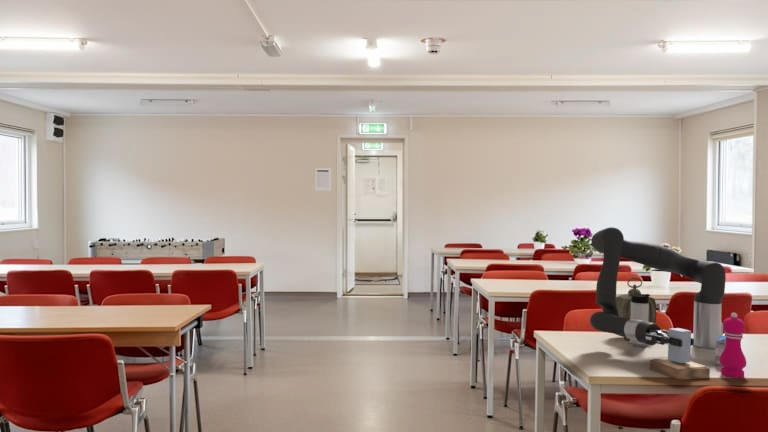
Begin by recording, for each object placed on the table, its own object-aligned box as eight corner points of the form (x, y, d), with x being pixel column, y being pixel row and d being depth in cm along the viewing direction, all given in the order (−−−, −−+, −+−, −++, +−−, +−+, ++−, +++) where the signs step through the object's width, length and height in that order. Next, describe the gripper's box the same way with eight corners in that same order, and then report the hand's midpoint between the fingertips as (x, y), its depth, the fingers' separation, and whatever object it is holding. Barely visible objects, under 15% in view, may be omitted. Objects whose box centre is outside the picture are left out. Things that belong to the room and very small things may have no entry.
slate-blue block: (677, 358, 178) (678, 327, 178) (690, 362, 174) (691, 330, 174) (667, 359, 177) (668, 328, 177) (680, 363, 173) (681, 331, 172)
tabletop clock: (624, 341, 219) (626, 279, 219) (610, 336, 228) (611, 276, 228) (655, 340, 222) (657, 278, 222) (640, 335, 231) (641, 276, 231)
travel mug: (650, 347, 209) (651, 295, 209) (632, 346, 211) (633, 294, 210) (646, 343, 215) (647, 293, 215) (628, 342, 217) (629, 292, 216)
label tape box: (718, 360, 193) (719, 325, 193) (732, 362, 191) (733, 327, 191) (714, 365, 186) (715, 329, 186) (728, 367, 184) (729, 331, 184)
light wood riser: (679, 367, 183) (680, 356, 183) (709, 377, 171) (709, 366, 171) (649, 368, 180) (649, 358, 180) (677, 379, 168) (677, 368, 168)
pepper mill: (746, 380, 170) (748, 315, 170) (719, 375, 174) (720, 313, 173) (745, 374, 176) (747, 312, 176) (719, 370, 180) (721, 309, 180)
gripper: (627, 321, 185) (672, 332, 170) (656, 319, 191) (702, 329, 176) (626, 344, 186) (671, 356, 170) (656, 340, 191) (702, 352, 176)
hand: (687, 342), depth 173 cm, fingers open, 4 cm apart
